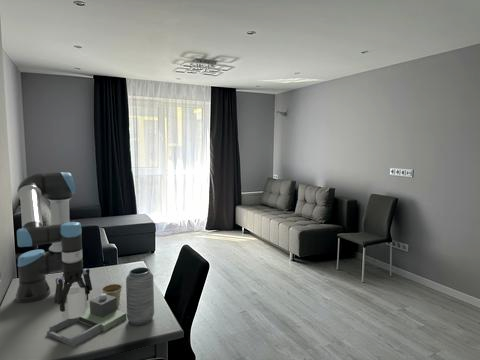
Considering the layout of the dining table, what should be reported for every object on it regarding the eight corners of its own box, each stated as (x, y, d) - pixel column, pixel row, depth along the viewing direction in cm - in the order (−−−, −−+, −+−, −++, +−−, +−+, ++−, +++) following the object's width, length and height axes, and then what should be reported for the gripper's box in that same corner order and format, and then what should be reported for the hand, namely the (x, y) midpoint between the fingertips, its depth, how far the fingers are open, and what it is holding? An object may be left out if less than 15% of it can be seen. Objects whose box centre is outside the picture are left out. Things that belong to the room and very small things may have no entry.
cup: (79, 303, 143) (78, 282, 142) (88, 313, 135) (87, 290, 134) (58, 310, 138) (57, 287, 137) (67, 321, 129) (66, 296, 128)
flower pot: (115, 310, 154) (115, 293, 153) (98, 308, 156) (97, 291, 155) (126, 301, 163) (125, 284, 163) (109, 299, 165) (109, 283, 164)
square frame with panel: (44, 333, 134) (43, 309, 133) (96, 308, 156) (95, 287, 155) (75, 347, 125) (74, 322, 124) (126, 318, 147) (125, 296, 146)
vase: (128, 329, 138) (126, 277, 136) (126, 316, 148) (124, 268, 146) (156, 323, 142) (155, 273, 140) (152, 311, 153) (151, 264, 151)
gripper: (53, 270, 122) (56, 327, 124) (100, 254, 140) (102, 304, 142) (41, 266, 125) (44, 322, 127) (88, 251, 144) (91, 301, 146)
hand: (75, 313), depth 135 cm, fingers closed on cup, 8 cm apart
